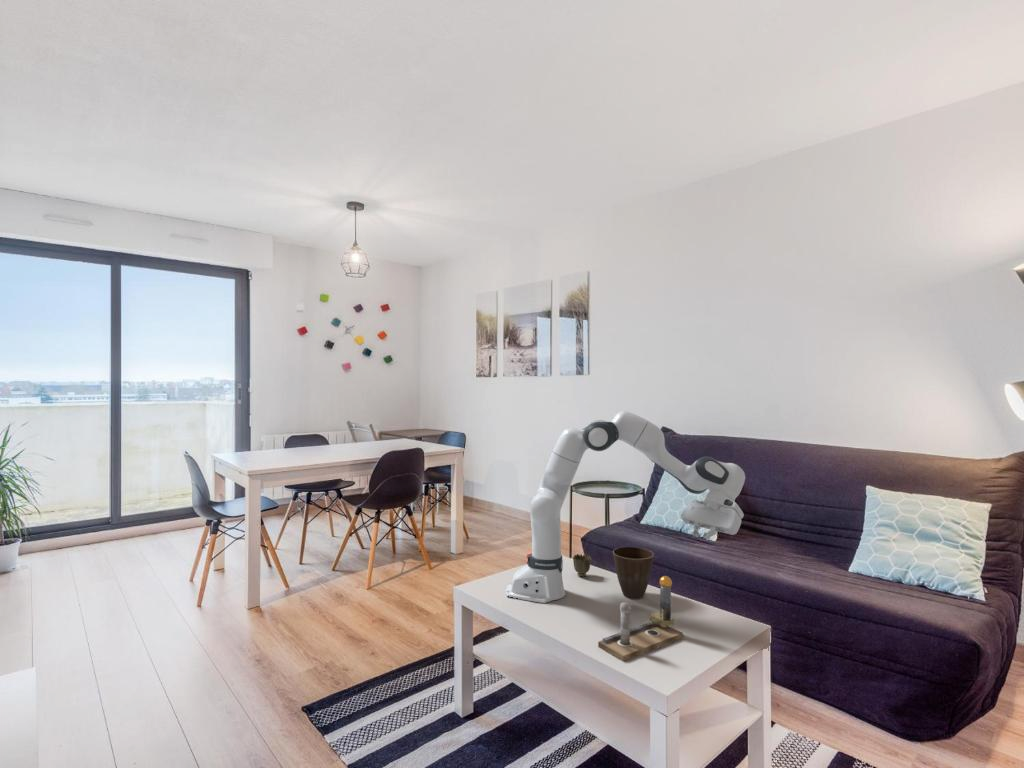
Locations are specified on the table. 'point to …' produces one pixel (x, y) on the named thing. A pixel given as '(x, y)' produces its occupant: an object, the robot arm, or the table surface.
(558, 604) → the table surface
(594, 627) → the table surface
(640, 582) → the plant pot
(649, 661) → the table surface
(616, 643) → the wooden peg board
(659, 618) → the sliding leg
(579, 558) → the cup
